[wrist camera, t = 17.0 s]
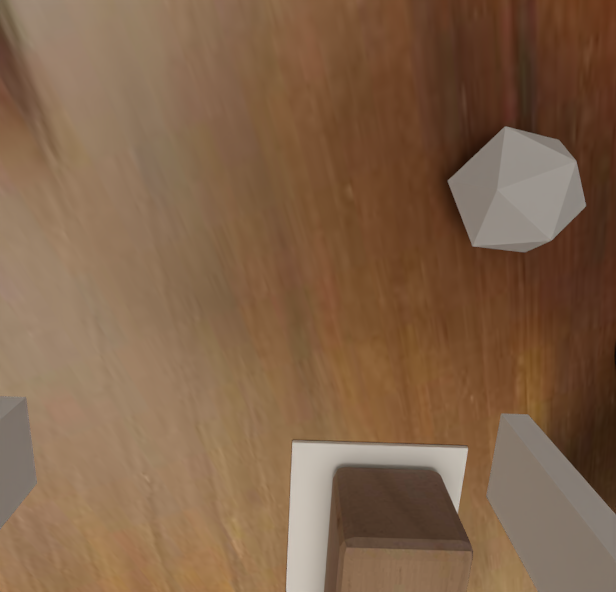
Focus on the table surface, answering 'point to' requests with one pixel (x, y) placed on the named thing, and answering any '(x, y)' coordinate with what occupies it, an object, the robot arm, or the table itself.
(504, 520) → the robot arm
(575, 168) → the die
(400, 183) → the table surface
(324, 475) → the white mat
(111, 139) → the table surface
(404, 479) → the wooden block
